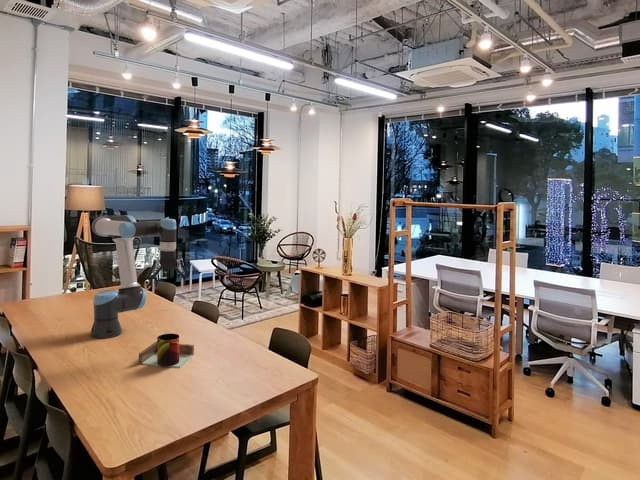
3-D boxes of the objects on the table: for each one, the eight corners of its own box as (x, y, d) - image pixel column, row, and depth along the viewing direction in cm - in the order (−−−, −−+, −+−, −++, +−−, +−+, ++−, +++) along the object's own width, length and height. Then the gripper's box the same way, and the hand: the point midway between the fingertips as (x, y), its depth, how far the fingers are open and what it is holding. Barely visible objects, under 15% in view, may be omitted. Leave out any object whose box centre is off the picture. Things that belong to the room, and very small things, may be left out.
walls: (138, 364, 193) (138, 353, 192) (155, 351, 208) (155, 341, 208) (179, 367, 191) (179, 357, 190) (194, 354, 206) (194, 344, 206)
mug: (177, 353, 205) (177, 329, 204) (180, 364, 192) (180, 339, 191) (156, 356, 201) (156, 331, 200) (157, 367, 188) (157, 341, 187)
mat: (142, 364, 193) (142, 363, 193) (157, 352, 206) (157, 351, 206) (179, 367, 191) (179, 366, 191) (192, 356, 204) (192, 354, 204)
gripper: (140, 251, 201) (140, 295, 203) (195, 250, 211) (194, 292, 213) (140, 249, 208) (140, 291, 210) (193, 248, 218) (192, 288, 220)
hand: (167, 291), depth 212 cm, fingers open, 13 cm apart
